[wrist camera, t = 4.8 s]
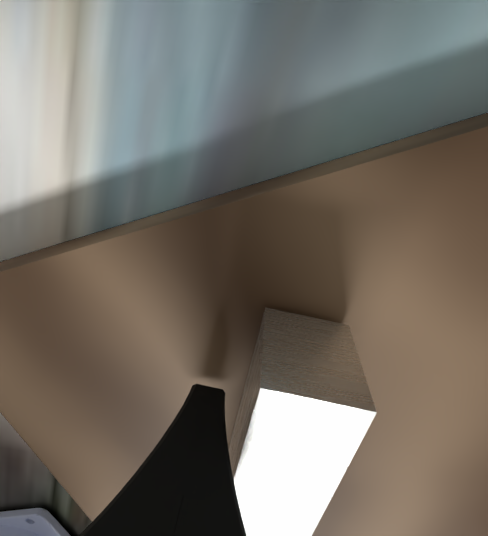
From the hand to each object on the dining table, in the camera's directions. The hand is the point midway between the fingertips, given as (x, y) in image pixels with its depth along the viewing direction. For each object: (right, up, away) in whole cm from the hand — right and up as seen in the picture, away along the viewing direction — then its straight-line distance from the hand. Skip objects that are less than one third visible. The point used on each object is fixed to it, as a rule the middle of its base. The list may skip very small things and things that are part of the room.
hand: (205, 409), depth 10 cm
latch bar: (+2, -3, +2) cm, 4 cm away
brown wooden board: (+3, -2, +4) cm, 5 cm away
